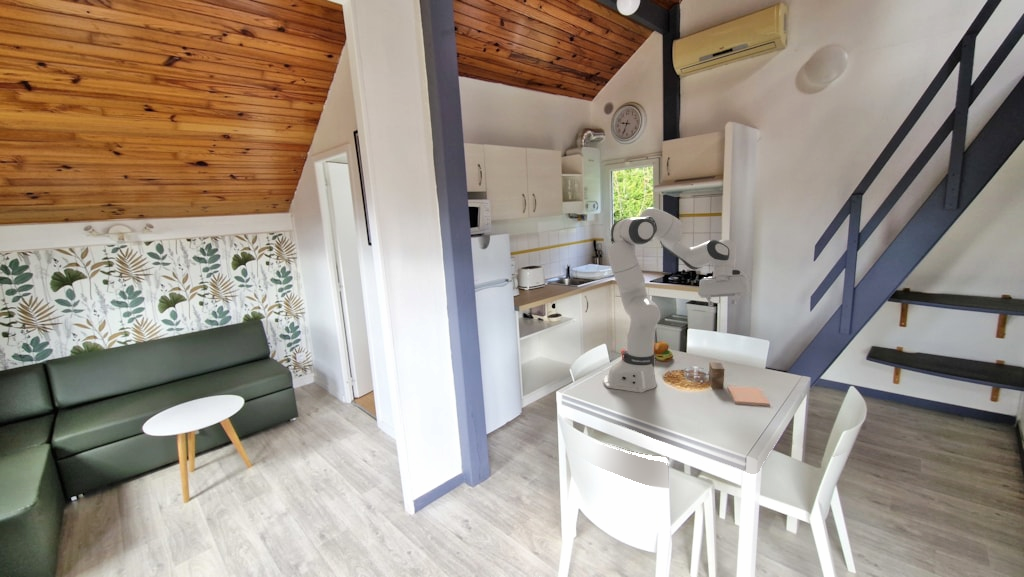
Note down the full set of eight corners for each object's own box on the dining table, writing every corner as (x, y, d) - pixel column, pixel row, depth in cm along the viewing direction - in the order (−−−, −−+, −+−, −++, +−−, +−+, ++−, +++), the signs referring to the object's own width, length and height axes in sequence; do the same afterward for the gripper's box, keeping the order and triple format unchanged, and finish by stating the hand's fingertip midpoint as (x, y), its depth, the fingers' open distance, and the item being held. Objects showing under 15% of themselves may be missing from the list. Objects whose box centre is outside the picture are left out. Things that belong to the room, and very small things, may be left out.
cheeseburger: (678, 361, 210) (673, 343, 208) (656, 368, 210) (652, 349, 208) (669, 354, 220) (665, 336, 218) (649, 360, 220) (645, 342, 218)
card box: (711, 388, 181) (712, 368, 179) (708, 381, 187) (709, 362, 185) (723, 389, 179) (724, 369, 178) (719, 382, 186) (721, 362, 184)
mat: (734, 403, 167) (735, 401, 167) (727, 388, 180) (727, 385, 180) (769, 406, 164) (769, 403, 164) (759, 390, 177) (759, 387, 177)
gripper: (697, 275, 193) (694, 304, 189) (747, 270, 179) (745, 301, 175) (702, 280, 198) (700, 309, 193) (751, 276, 183) (750, 307, 179)
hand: (722, 305), depth 184 cm, fingers open, 8 cm apart
